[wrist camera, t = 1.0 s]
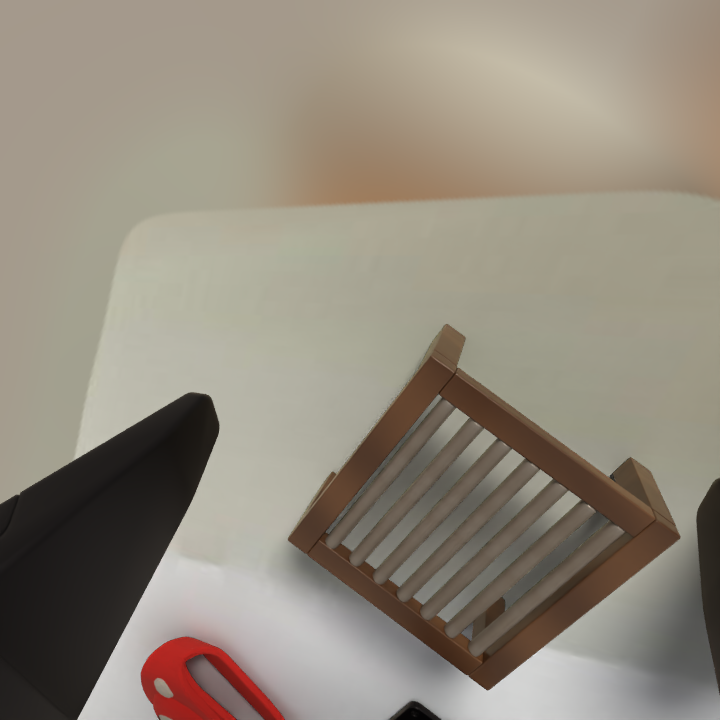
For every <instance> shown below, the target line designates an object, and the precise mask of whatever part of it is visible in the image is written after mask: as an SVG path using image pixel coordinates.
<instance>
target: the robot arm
mask: <svg viewBox="0 0 720 720" xmlns="http://www.w3.org/2000/svg"><path fill="white" fill-rule="evenodd" d="M218 433H219V421H218V418H217V414H216V411H215V408H214V405H213V401H212V399H211V397H210V396H209V395H207V394H200V393H194V392H190V393H187V394H185V395H184V396H182V397H180V398H179V399H177V400H175V401H174V402H172V403H170V404H168V405H167V406H165V407H163V408H162V409H160V410H158V411H157V412H155V413H153V414H152V415H150V416H148V417H147V418H145V419H143V420H142V421H140V422H138V423H136V424H135V425H133V426H131V427H130V428H128V429H126V430H125V431H123V432H121V433H120V434H118V435H116V436H115V437H113V438H111V439H110V440H108V441H106V442H105V443H103V444H101V445H99V446H98V447H96V448H94V449H93V450H91V451H89V452H88V453H86V454H84V455H83V456H81V457H79V458H78V459H76V460H74V461H73V462H71V463H69V464H68V465H66V466H64V467H62V468H61V469H59V470H58V471H56V472H54V473H52V474H51V475H49V476H47V477H46V478H44V479H42V480H41V481H39V482H37V483H35V484H34V485H32V486H30V487H29V488H27V489H25V490H24V491H22V492H21V493H20V495H15V496H14V497H12V498H10V499H8V500H7V501H5V502H3V503H2V504H0V720H77V719H78V717H79V715H80V713H81V711H82V709H83V707H84V706H85V704H86V702H87V700H88V698H89V696H90V694H91V692H92V690H93V688H94V687H95V685H96V683H97V681H98V679H99V677H100V675H101V673H102V671H103V669H104V668H105V666H106V664H107V662H108V660H109V658H110V656H111V654H112V652H113V650H114V648H115V647H116V645H117V643H118V641H119V639H120V637H121V635H122V633H123V631H124V629H125V628H126V626H127V624H128V622H129V620H130V618H131V616H132V614H133V612H134V610H135V609H136V607H137V605H138V603H139V601H140V599H141V597H142V595H143V593H144V591H145V589H146V588H147V586H148V584H149V582H150V580H151V578H152V576H153V574H154V572H155V570H156V569H157V567H158V565H159V563H160V561H161V559H162V557H163V555H164V553H165V551H166V550H167V548H168V546H169V544H170V542H171V540H172V538H173V536H174V534H175V532H176V531H177V529H178V527H179V525H180V523H181V521H182V519H183V517H184V515H185V513H186V511H187V509H188V507H189V505H190V503H191V501H192V499H193V497H194V495H195V492H196V490H197V487H198V485H199V482H200V480H201V477H202V475H203V472H204V470H205V467H206V465H207V462H208V459H209V457H210V454H211V452H212V449H213V447H214V444H215V442H216V439H217V437H218ZM697 536H698V549H699V563H700V576H701V590H702V602H703V611H704V617H705V623H706V629H707V633H708V638H709V643H710V648H711V653H712V658H713V663H714V668H715V673H716V678H717V683H718V688H719V693H720V478H718V479H716V480H715V481H714V482H713V484H712V485H711V487H710V489H709V491H708V492H707V494H706V496H705V497H704V499H703V501H702V503H701V504H700V506H699V508H698V512H697ZM390 720H441V719H440V718H438V717H437V716H436V715H435V714H433V713H432V712H431V711H429V710H428V709H427V708H425V707H424V706H423V705H421V704H420V703H418V702H415V701H413V702H410V703H408V704H407V705H406V706H405V707H404V708H403V709H401V710H400V711H399V712H398V713H397V714H396V715H395V716H393V717H392V718H391V719H390Z"/></svg>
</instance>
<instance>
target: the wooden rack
mask: <svg viewBox="0 0 720 720" xmlns="http://www.w3.org/2000/svg"><path fill="white" fill-rule="evenodd" d="M465 339H466V338H465V337H464V336H463V335H462V334H460V333H459V332H458V331H456V330H455V329H453V328H452V327H451V326H449V325H448V324H446V325H445V326H444V327H443V328H442V330H441V331H440V332H439V333H438V335H437V336H436V337H435V339H434V340H433V341H432V343H431V345H430V347H429V349H428V351H427V353H426V355H425V357H424V359H423V361H422V363H421V365H420V367H419V369H418V370H417V372H416V373H415V374H414V375H413V377H412V378H411V379H410V381H409V382H408V383H407V384H406V386H405V387H404V388H403V390H402V391H401V392H400V393H399V395H398V396H397V397H396V399H395V400H394V401H393V402H392V404H391V405H390V406H389V408H388V409H387V410H386V411H385V413H384V414H383V415H382V417H381V418H380V419H379V420H378V422H377V423H376V424H375V426H374V427H373V428H372V429H371V431H370V432H369V433H368V435H367V436H366V437H365V438H364V440H363V441H362V442H361V444H360V445H359V446H358V447H357V449H356V450H355V451H354V453H353V454H352V455H351V456H350V458H349V459H348V460H347V462H346V463H345V464H344V465H343V467H342V468H341V469H340V471H339V472H338V473H337V474H335V473H334V472H331V474H330V475H329V476H328V477H327V479H326V480H325V481H324V483H323V484H322V485H321V487H320V489H319V490H318V492H317V493H316V495H315V496H314V498H313V500H312V501H311V503H310V504H309V506H308V507H307V509H306V511H305V512H304V514H303V515H302V517H301V518H300V520H299V522H298V523H297V525H296V526H295V528H294V530H293V531H292V533H291V534H290V536H289V537H288V541H289V542H291V543H292V544H293V545H295V546H296V547H297V548H299V549H300V550H301V551H303V552H304V553H305V554H307V553H308V554H307V555H308V556H309V557H310V558H312V559H313V560H314V561H316V562H317V563H318V564H320V565H321V566H322V567H324V568H325V569H326V570H328V571H329V572H330V573H332V574H333V575H334V576H336V577H337V578H338V579H340V580H341V581H342V582H344V583H345V584H346V585H348V586H349V587H350V588H352V589H353V590H354V591H356V592H357V593H358V594H359V595H361V596H362V597H363V598H365V599H366V600H367V601H369V602H370V603H371V604H373V605H374V606H375V607H377V608H378V609H379V610H381V611H382V612H383V613H385V614H386V615H387V616H389V617H390V618H391V619H393V620H394V621H395V622H397V623H398V624H399V625H401V626H402V627H403V628H405V629H406V630H407V631H409V632H410V633H411V634H413V635H414V636H415V637H417V638H418V639H419V640H421V641H422V642H423V643H424V644H426V645H427V646H428V647H430V648H431V649H432V650H434V651H435V652H436V653H438V654H439V655H440V656H442V657H443V658H444V659H446V660H447V661H448V662H450V663H451V664H452V665H454V666H455V667H456V668H458V669H459V670H460V671H462V672H463V673H464V674H466V675H468V676H469V677H470V678H471V679H473V680H474V681H475V682H477V683H478V684H479V685H481V686H482V687H483V688H485V689H486V690H490V689H491V688H492V687H493V686H495V685H496V684H497V683H498V682H500V681H501V680H502V679H503V678H505V677H506V676H507V675H509V674H510V673H511V672H512V671H514V670H515V669H516V668H517V667H519V666H520V665H521V664H522V663H524V662H525V661H526V660H527V659H529V658H530V657H531V656H533V655H534V654H535V653H536V652H538V651H539V650H540V649H541V648H543V647H544V646H545V645H546V644H548V643H549V642H550V641H551V640H553V639H554V638H555V637H557V636H558V635H559V634H560V633H562V632H563V631H564V630H565V629H567V628H568V627H569V626H570V625H572V624H573V623H574V622H575V621H577V620H578V619H579V618H581V617H582V616H583V615H584V614H586V613H587V612H588V611H589V610H591V609H592V608H593V607H594V606H596V605H597V604H598V603H599V602H601V601H602V600H603V599H605V598H606V597H607V596H608V595H610V594H611V593H612V592H613V591H615V590H616V589H617V588H618V587H620V586H621V585H622V584H623V583H625V582H626V581H627V580H629V579H630V578H631V577H632V576H634V575H635V574H636V573H637V572H639V571H640V570H641V569H642V568H644V567H645V566H646V565H647V564H649V563H650V562H651V561H653V560H654V559H655V558H656V557H658V556H659V555H660V554H661V553H663V552H664V551H665V550H666V549H668V548H669V547H670V546H671V545H673V544H674V543H675V542H677V541H678V540H679V539H680V535H679V533H678V530H677V528H676V525H675V523H674V521H673V519H672V516H671V514H670V512H669V510H668V508H667V506H666V504H665V501H664V499H663V497H662V495H661V493H660V491H659V489H658V486H657V484H656V482H655V480H654V478H653V476H652V474H651V472H650V471H649V470H648V469H646V468H645V467H644V466H642V465H641V464H640V463H638V462H637V461H635V460H634V459H633V458H631V457H630V458H629V459H628V460H627V461H626V462H624V463H623V464H622V465H621V466H620V467H619V468H618V469H617V470H616V471H615V472H614V473H613V476H614V479H615V482H614V481H613V480H612V479H610V478H609V477H607V476H606V475H605V474H603V473H602V472H601V471H599V470H598V469H597V468H595V467H594V466H592V465H591V464H590V463H588V462H587V461H586V460H584V459H583V458H581V457H580V456H579V455H577V454H576V453H575V452H573V451H572V450H570V449H569V448H568V447H566V446H565V445H564V444H562V443H561V442H560V441H558V440H557V439H555V438H554V437H553V436H551V435H550V434H549V433H547V432H546V431H544V430H543V429H542V428H540V427H539V426H538V425H536V424H535V423H534V422H532V421H531V420H529V419H528V418H527V417H525V416H524V415H523V414H521V413H520V412H518V411H517V410H516V409H514V408H513V407H512V406H510V405H509V404H507V403H506V402H505V401H503V400H502V399H501V398H499V397H498V396H497V395H495V394H494V393H492V392H491V391H490V390H488V389H487V388H486V387H484V386H483V385H481V384H480V383H479V382H477V381H476V380H475V379H473V378H472V377H470V376H469V375H468V374H466V373H465V372H464V371H462V370H461V369H460V368H457V364H458V361H459V358H460V355H461V352H462V348H463V345H464V342H465ZM438 394H439V395H440V396H441V397H442V398H441V399H440V400H439V402H438V403H437V404H436V405H435V407H434V408H433V409H432V410H431V411H430V413H429V414H428V415H427V416H426V417H425V419H424V420H423V421H422V422H421V424H420V425H419V426H418V427H417V428H416V430H415V431H414V432H413V433H412V434H411V436H410V437H409V438H408V439H407V440H406V442H405V443H404V444H403V445H402V447H401V448H400V449H399V450H398V451H397V453H396V454H395V455H394V456H393V457H392V459H391V460H390V461H389V462H388V463H387V465H386V466H385V467H384V468H383V470H382V471H381V472H380V473H379V474H378V476H377V477H376V478H375V479H374V480H373V482H372V483H371V484H370V485H369V486H368V488H367V489H366V490H365V491H364V493H363V494H362V495H361V496H360V497H359V499H358V500H357V501H356V502H355V503H354V505H353V506H352V507H351V508H350V509H349V511H348V512H347V513H346V514H345V516H344V517H343V518H342V519H341V520H340V522H339V523H338V524H337V525H336V526H335V528H334V529H333V530H332V531H331V532H330V534H328V533H327V532H326V530H327V529H328V528H329V527H330V525H331V524H332V523H333V522H334V521H335V519H336V518H337V517H338V516H339V514H340V513H341V512H342V511H343V510H344V508H345V507H346V506H347V505H348V503H349V502H350V501H351V500H352V499H353V497H354V496H355V495H356V494H357V492H358V491H359V490H360V489H361V488H362V486H363V485H364V484H365V483H366V481H367V480H368V479H369V478H370V477H371V475H372V474H373V473H374V472H375V470H376V469H377V468H378V467H379V466H380V464H381V463H382V462H383V461H384V460H385V458H386V457H387V456H388V455H389V453H390V452H391V451H392V450H393V449H394V447H395V446H396V445H397V444H398V442H399V441H400V440H401V439H402V438H403V436H404V435H405V434H406V433H407V431H408V430H409V429H410V428H411V427H412V425H413V424H414V423H415V422H416V420H417V419H418V418H419V417H420V416H421V414H422V413H423V412H424V411H425V409H426V408H427V407H428V406H429V405H430V403H431V402H432V401H433V400H434V398H435V397H436V396H437V395H438ZM455 408H458V409H459V410H460V411H462V412H463V413H465V414H466V415H467V416H469V417H470V418H469V419H468V420H467V421H466V423H465V424H464V425H463V426H462V427H461V428H460V429H459V431H458V432H457V433H456V434H455V435H454V436H453V437H452V439H451V440H450V441H449V442H448V443H447V444H446V445H445V447H444V448H443V449H442V450H441V451H440V452H439V453H438V455H437V456H436V457H435V458H434V459H433V460H432V461H431V463H430V464H429V465H428V466H427V467H426V468H425V470H424V471H423V472H422V473H421V474H420V475H419V476H418V478H417V479H416V480H415V481H414V482H413V483H412V484H411V486H410V487H409V488H408V489H407V490H406V491H405V492H404V494H403V495H402V496H401V497H400V498H399V499H398V500H397V502H396V503H395V504H394V505H393V506H392V507H391V508H390V510H389V511H388V512H387V513H386V514H385V515H384V516H383V518H382V519H381V520H380V521H379V522H378V523H377V524H376V526H375V527H374V528H373V529H372V530H371V531H370V532H369V534H368V535H367V536H366V537H365V538H364V539H363V540H362V542H361V543H360V544H359V545H358V546H357V547H356V548H355V550H354V551H353V552H352V551H350V550H349V549H348V548H346V547H345V546H344V545H342V544H341V543H342V541H343V540H344V539H345V538H346V537H347V535H348V534H349V533H350V532H351V531H352V530H353V528H354V527H355V526H356V525H357V524H358V523H359V521H360V520H361V519H362V518H363V517H364V515H365V514H366V513H367V512H368V511H369V510H370V508H371V507H372V506H373V505H374V504H375V503H376V501H377V500H378V499H379V498H380V497H381V495H382V494H383V493H384V492H385V491H386V490H387V488H388V487H389V486H390V485H391V484H392V483H393V481H394V480H395V479H396V478H397V477H398V475H399V474H400V473H401V472H402V471H403V470H404V468H405V467H406V466H407V465H408V464H409V463H410V461H411V460H412V459H413V458H414V457H415V455H416V454H417V453H418V452H419V451H420V450H421V448H422V447H423V446H424V445H425V444H426V443H427V441H428V440H429V439H430V438H431V437H432V435H433V434H434V433H435V432H436V431H437V430H438V428H439V427H440V426H441V425H442V424H443V423H444V421H445V420H446V419H447V418H448V417H449V415H450V414H451V413H452V412H453V411H454V410H455ZM484 428H485V429H486V430H488V431H489V432H490V433H492V434H493V435H495V436H496V437H497V439H496V440H495V441H494V442H493V444H492V445H491V446H490V447H489V448H488V449H487V450H486V451H485V452H484V453H483V454H482V455H481V457H480V458H479V459H478V460H477V461H476V462H475V463H474V464H473V465H472V466H471V467H470V468H469V469H468V471H467V472H466V473H465V474H464V475H463V476H462V477H461V478H460V479H459V480H458V481H457V482H456V484H455V485H454V486H453V487H452V488H451V489H450V490H449V491H448V492H447V493H446V494H445V495H444V497H443V498H442V499H441V500H440V501H439V502H438V503H437V504H436V505H435V506H434V507H433V508H432V510H431V511H430V512H429V513H428V514H427V515H426V516H425V517H424V518H423V519H422V520H421V521H420V523H419V524H418V525H417V526H416V527H415V528H414V529H413V530H412V531H411V532H410V533H409V534H408V536H407V537H406V538H405V539H404V540H403V541H402V542H401V543H400V544H399V545H398V546H397V547H396V549H395V550H394V551H393V552H392V553H391V554H390V555H389V556H388V557H387V558H386V559H385V560H384V562H383V563H382V564H381V565H380V566H379V567H378V568H377V569H374V568H373V567H372V566H370V565H369V564H368V563H366V562H365V560H366V559H367V558H368V557H369V556H370V554H371V553H372V552H373V551H374V550H375V549H376V548H377V547H378V546H379V544H380V543H381V542H382V541H383V540H384V539H385V538H386V537H387V536H388V534H389V533H390V532H391V531H392V530H393V529H394V528H395V527H396V526H397V524H398V523H399V522H400V521H401V520H402V519H403V518H404V517H405V516H406V514H407V513H408V512H409V511H410V510H411V509H412V508H413V507H414V505H415V504H416V503H417V502H418V501H419V500H420V499H421V498H422V497H423V495H424V494H425V493H426V492H427V491H428V490H429V489H430V488H431V487H432V485H433V484H434V483H435V482H436V481H437V480H438V479H439V478H440V477H441V475H442V474H443V473H444V472H445V471H446V470H447V469H448V468H449V467H450V465H451V464H452V463H453V462H454V461H455V460H456V459H457V458H458V457H459V455H460V454H461V453H462V452H463V451H464V450H465V449H466V448H467V447H468V445H469V444H470V443H471V442H472V441H473V440H474V439H475V438H476V437H477V435H478V434H479V433H480V432H481V431H482V430H483V429H484ZM511 449H514V450H515V451H516V452H518V453H519V454H520V455H522V456H523V457H525V459H524V460H523V461H522V463H521V464H520V465H519V466H518V467H517V468H516V469H515V470H514V471H513V472H512V473H511V474H510V475H509V476H508V477H507V478H506V479H505V480H504V481H503V482H502V483H501V484H500V485H499V486H498V487H497V488H496V489H495V490H494V491H493V492H492V493H491V494H490V495H489V496H488V497H487V498H486V499H485V500H484V501H483V502H482V504H481V505H480V506H479V507H478V508H477V509H476V510H475V511H474V512H473V513H472V514H471V515H470V516H469V517H468V518H467V519H466V520H465V521H464V522H463V523H462V524H461V525H460V526H459V527H458V528H457V529H456V530H455V531H454V532H453V533H452V534H451V535H450V536H449V537H448V538H447V539H446V540H445V541H444V542H443V543H442V544H441V546H440V547H439V548H438V549H437V550H436V551H435V552H434V553H433V554H432V555H431V556H430V557H429V558H428V559H427V560H426V561H425V562H424V563H423V564H422V565H421V566H420V567H419V568H418V569H417V570H416V571H415V572H414V573H413V574H412V575H411V576H410V577H409V578H408V579H407V580H406V581H405V582H404V583H403V584H402V585H401V586H400V587H398V586H397V585H396V584H394V583H393V582H392V581H390V580H389V578H390V577H391V576H392V575H393V573H394V572H395V571H396V570H397V569H398V568H399V567H400V566H401V565H402V564H403V563H404V562H405V561H406V560H407V559H408V558H409V557H410V556H411V555H412V554H413V552H414V551H415V550H416V549H417V548H418V547H419V546H420V545H421V544H422V543H423V542H424V541H425V540H426V539H427V538H428V537H429V536H430V535H431V534H432V532H433V531H434V530H435V529H436V528H437V527H438V526H439V525H440V524H441V523H442V522H443V521H444V520H445V519H446V518H447V517H448V516H449V515H450V514H451V512H452V511H453V510H454V509H455V508H456V507H457V506H458V505H459V504H460V503H461V502H462V501H463V500H464V499H465V498H466V497H467V496H468V495H469V494H470V493H471V491H472V490H473V489H474V488H475V487H476V486H477V485H478V484H479V483H480V482H481V481H482V480H483V479H484V478H485V477H486V476H487V475H488V474H489V473H490V471H491V470H492V469H493V468H494V467H495V466H496V465H497V464H498V463H499V462H500V461H501V460H502V459H503V458H504V457H505V456H506V455H507V454H508V453H509V451H510V450H511ZM540 469H541V470H542V471H544V472H545V473H546V474H548V475H549V476H550V477H552V478H553V480H552V481H551V482H550V483H549V484H548V485H547V486H546V487H545V488H544V489H543V490H542V491H540V492H539V493H538V494H537V495H536V496H535V497H534V498H533V499H532V500H531V501H530V502H529V503H528V504H527V505H526V506H525V507H524V508H523V509H522V510H521V511H520V512H519V513H518V514H517V515H516V516H515V517H514V518H513V519H512V520H511V521H510V522H509V523H507V524H506V525H505V526H504V527H503V528H502V529H501V530H500V531H499V532H498V533H497V534H496V535H495V536H494V537H493V538H492V539H491V540H490V541H489V542H488V543H487V544H486V545H485V546H484V547H483V548H482V549H481V550H480V551H479V552H478V553H477V554H476V555H474V556H473V557H472V558H471V559H470V560H469V561H468V562H467V563H466V564H465V565H464V566H463V567H462V568H461V569H460V570H459V571H458V572H457V573H456V574H455V575H454V576H453V577H452V578H451V579H450V580H449V581H448V582H447V583H446V584H445V585H444V586H443V587H441V588H440V589H439V590H438V591H437V592H436V593H435V594H434V595H433V596H432V597H431V598H430V599H429V600H428V601H427V602H426V603H425V604H424V605H422V604H421V603H420V602H418V601H417V600H416V599H414V598H413V596H414V595H415V594H416V593H417V592H418V591H419V590H420V589H421V588H422V587H423V586H424V585H425V584H426V583H427V582H428V581H429V580H430V579H431V578H432V577H433V576H434V575H435V574H436V573H437V572H438V571H439V570H440V569H441V568H442V567H443V566H444V565H445V564H446V563H447V562H448V561H449V560H450V559H451V558H452V557H453V556H454V555H455V554H456V553H457V552H458V551H459V550H460V549H461V548H462V547H463V546H464V545H465V544H466V543H467V542H468V541H469V540H470V539H471V538H472V537H473V536H474V535H475V534H476V533H477V532H478V531H479V530H480V529H481V528H482V527H483V526H484V525H485V524H486V523H487V522H488V521H489V520H490V519H491V518H492V517H493V516H494V515H495V514H496V513H497V512H498V511H499V510H500V509H501V508H502V507H503V506H504V505H505V504H506V503H507V502H508V501H509V500H510V499H511V498H512V497H513V496H514V495H515V494H516V493H517V492H518V491H519V490H520V489H521V488H522V487H523V486H524V485H525V484H526V483H527V482H528V481H529V480H530V479H531V478H532V477H533V476H534V475H535V474H536V473H537V472H538V471H539V470H540ZM569 490H570V491H571V492H572V493H574V494H575V495H576V496H578V497H579V498H581V499H582V500H580V501H579V502H578V503H577V504H576V505H575V506H574V507H573V508H572V509H571V510H570V511H568V512H567V513H566V514H565V515H564V516H563V517H562V518H561V519H560V520H559V521H558V522H557V523H555V524H554V525H553V526H552V527H551V528H550V529H549V530H548V531H547V532H546V533H545V534H543V535H542V536H541V537H540V538H539V539H538V540H537V541H536V542H535V543H534V544H533V545H531V546H530V547H529V548H528V549H527V550H526V551H525V552H524V553H523V554H522V555H521V556H519V557H518V558H517V559H516V560H515V561H514V562H513V563H512V564H511V565H510V566H509V567H507V568H506V569H505V570H504V571H503V572H502V573H501V574H500V575H499V576H498V577H497V578H496V579H494V580H493V581H492V582H491V583H490V584H489V585H488V586H487V587H486V588H485V589H484V590H482V591H481V592H480V593H479V594H478V595H477V596H476V597H475V598H474V599H473V600H472V601H470V602H469V603H468V604H467V605H466V606H465V607H464V608H463V609H462V610H461V611H460V612H458V613H457V614H456V615H455V616H454V617H453V618H452V619H451V620H450V621H449V622H448V623H446V622H445V621H444V620H442V619H441V618H440V617H438V616H437V614H438V613H439V612H440V611H441V610H442V609H443V608H444V607H445V606H446V605H447V604H448V603H449V602H451V601H452V600H453V599H454V598H455V597H456V596H457V595H458V594H459V593H460V592H461V591H462V590H463V589H464V588H465V587H466V586H468V585H469V584H470V583H471V582H472V581H473V580H474V579H475V578H476V577H477V576H478V575H479V574H480V573H481V572H482V571H483V570H485V569H486V568H487V567H488V566H489V565H490V564H491V563H492V562H493V561H494V560H495V559H496V558H497V557H498V556H499V555H500V554H502V553H503V552H504V551H505V550H506V549H507V548H508V547H509V546H510V545H511V544H512V543H513V542H514V541H515V540H516V539H517V538H519V537H520V536H521V535H522V534H523V533H524V532H525V531H526V530H527V529H528V528H529V527H530V526H531V525H532V524H533V523H534V522H536V521H537V520H538V519H539V518H540V517H541V516H542V515H543V514H544V513H545V512H546V511H547V510H548V509H549V508H550V507H551V506H553V505H554V504H555V503H556V502H557V501H558V500H559V499H560V498H561V497H562V496H563V495H564V494H565V493H566V492H567V491H569ZM597 511H598V512H600V513H601V514H602V515H604V516H605V517H606V518H608V519H609V521H608V522H607V523H606V524H605V525H604V526H602V527H601V528H600V529H599V530H598V531H597V532H596V533H594V534H593V535H592V536H591V537H590V538H589V539H587V540H586V541H585V542H584V543H583V544H582V545H581V546H579V547H578V548H577V549H576V550H575V551H574V552H573V553H571V554H570V555H569V556H568V557H567V558H566V559H564V560H563V561H562V562H561V563H560V564H559V565H558V566H556V567H555V568H554V569H553V570H552V571H551V572H550V573H548V574H547V575H546V576H545V577H544V578H543V579H541V580H540V581H539V582H538V583H537V584H536V585H535V586H533V587H532V588H531V589H530V590H529V591H528V592H526V593H525V594H524V595H523V596H522V597H521V598H520V599H518V600H517V601H516V602H515V603H514V604H513V605H512V606H510V607H509V608H508V609H507V610H506V611H505V600H504V599H503V598H501V596H503V595H504V594H505V593H506V592H507V591H508V590H509V589H510V588H512V587H513V586H514V585H515V584H516V583H517V582H518V581H519V580H521V579H522V578H523V577H524V576H525V575H526V574H527V573H528V572H530V571H531V570H532V569H533V568H534V567H535V566H536V565H537V564H539V563H540V562H541V561H542V560H543V559H544V558H545V557H546V556H548V555H549V554H550V553H551V552H552V551H553V550H554V549H555V548H557V547H558V546H559V545H560V544H561V543H562V542H563V541H564V540H565V539H567V538H568V537H569V536H570V535H571V534H572V533H573V532H574V531H576V530H577V529H578V528H579V527H580V526H581V525H582V524H583V523H585V522H586V521H587V520H588V519H589V518H590V517H591V516H592V515H594V514H595V513H596V512H597ZM472 622H473V631H472V640H471V641H470V640H469V639H468V638H466V637H465V636H464V635H462V634H461V632H462V631H463V630H464V629H466V628H467V627H468V626H469V625H470V624H471V623H472Z"/></svg>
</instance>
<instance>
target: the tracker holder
mask: <svg viewBox="0 0 720 720" xmlns="http://www.w3.org/2000/svg"><path fill="white" fill-rule="evenodd" d="M201 654H203V655H204V656H205V657H206V658H207V659H208V660H209V661H210V662H211V663H212V664H213V665H214V667H215V668H216V669H217V670H218V671H219V672H220V673H221V674H222V675H223V676H224V677H225V678H226V679H227V680H228V681H229V682H230V683H231V684H232V685H233V686H234V687H235V688H236V690H237V691H238V692H239V693H240V694H241V695H242V696H243V697H244V698H245V699H246V700H247V701H248V702H249V703H250V704H251V705H252V706H253V707H254V708H255V710H256V711H257V712H258V713H259V714H260V715H261V716H262V717H263V718H264V719H265V720H285V719H284V718H283V716H282V715H281V713H280V712H279V711H278V709H277V708H276V707H275V706H274V705H273V703H272V702H271V701H270V700H269V699H268V698H267V697H266V695H265V694H264V693H263V692H262V691H261V690H260V689H259V688H258V687H257V686H256V685H255V684H254V683H253V681H252V680H251V679H250V678H249V677H248V676H247V675H246V674H245V673H244V672H243V671H242V670H241V669H240V668H239V666H238V665H237V664H236V663H235V662H234V661H233V660H232V659H231V658H230V657H229V656H228V655H227V654H226V653H225V652H224V651H223V650H221V649H219V648H217V647H215V646H212V645H210V644H207V643H205V642H202V641H200V640H197V639H194V638H190V637H181V638H177V639H173V640H170V641H168V642H166V643H164V644H163V645H162V646H160V647H159V648H158V649H156V650H155V651H154V652H153V653H152V654H151V655H150V656H149V657H148V659H147V660H146V662H145V664H144V665H143V668H142V671H141V683H142V687H143V690H144V692H145V694H146V696H147V698H148V699H149V701H150V702H151V703H152V704H153V707H154V710H155V713H156V715H157V717H158V719H159V720H237V719H235V718H234V717H233V716H232V715H231V714H230V713H229V712H227V711H226V710H225V709H224V708H223V707H222V706H221V705H219V704H218V703H217V702H216V701H215V700H214V699H213V698H211V697H210V696H209V695H208V694H207V693H206V692H205V691H203V690H202V689H201V688H200V687H199V686H198V684H197V683H196V682H195V680H194V679H193V678H192V676H191V675H190V673H189V671H188V669H187V666H186V664H185V663H186V661H187V660H189V659H191V658H193V657H195V656H197V655H201Z"/></svg>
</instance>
